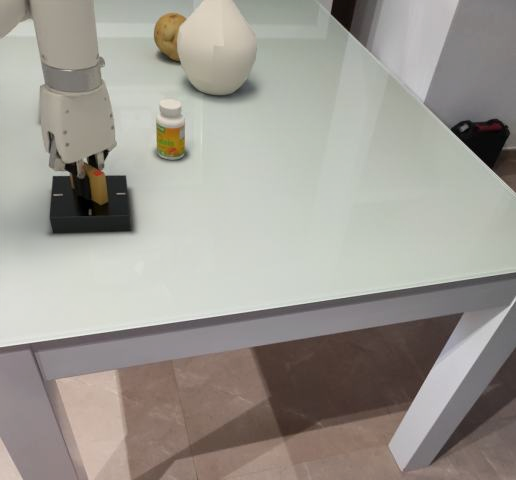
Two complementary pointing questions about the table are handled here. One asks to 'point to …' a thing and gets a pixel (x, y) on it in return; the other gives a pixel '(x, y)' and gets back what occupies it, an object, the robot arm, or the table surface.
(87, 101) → the robot arm
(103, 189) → the dial pointer knob
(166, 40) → the potato
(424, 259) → the table surface
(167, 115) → the supplement bottle
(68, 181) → the dial pointer knob base
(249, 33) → the vase
